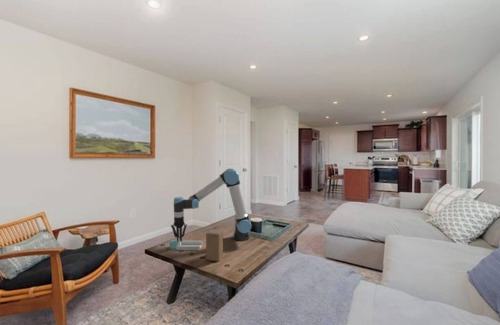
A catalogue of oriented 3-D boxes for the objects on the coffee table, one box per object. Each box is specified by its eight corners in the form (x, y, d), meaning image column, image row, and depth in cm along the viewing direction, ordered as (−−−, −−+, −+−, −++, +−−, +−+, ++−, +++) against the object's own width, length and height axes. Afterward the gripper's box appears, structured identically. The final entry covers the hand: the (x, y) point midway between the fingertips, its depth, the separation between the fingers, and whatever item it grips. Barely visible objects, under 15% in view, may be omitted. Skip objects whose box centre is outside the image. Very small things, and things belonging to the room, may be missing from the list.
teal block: (180, 245, 188) (180, 239, 188) (177, 248, 182) (177, 242, 181) (172, 245, 188) (172, 239, 188) (169, 248, 182) (169, 242, 181)
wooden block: (219, 261, 161) (218, 234, 160) (205, 260, 163) (205, 233, 162) (223, 255, 171) (223, 229, 170) (210, 254, 173) (210, 228, 172)
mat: (180, 244, 190) (180, 244, 190) (176, 250, 179) (176, 250, 179) (171, 244, 190) (171, 244, 190) (166, 250, 179) (166, 250, 179)
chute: (202, 244, 191) (202, 240, 191) (199, 250, 179) (199, 246, 179) (181, 244, 191) (181, 240, 191) (176, 250, 179) (176, 246, 179)
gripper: (188, 215, 187) (188, 243, 188) (172, 215, 187) (173, 243, 188) (185, 217, 180) (186, 246, 181) (169, 217, 180) (170, 247, 181)
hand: (179, 245), depth 185 cm, fingers closed
